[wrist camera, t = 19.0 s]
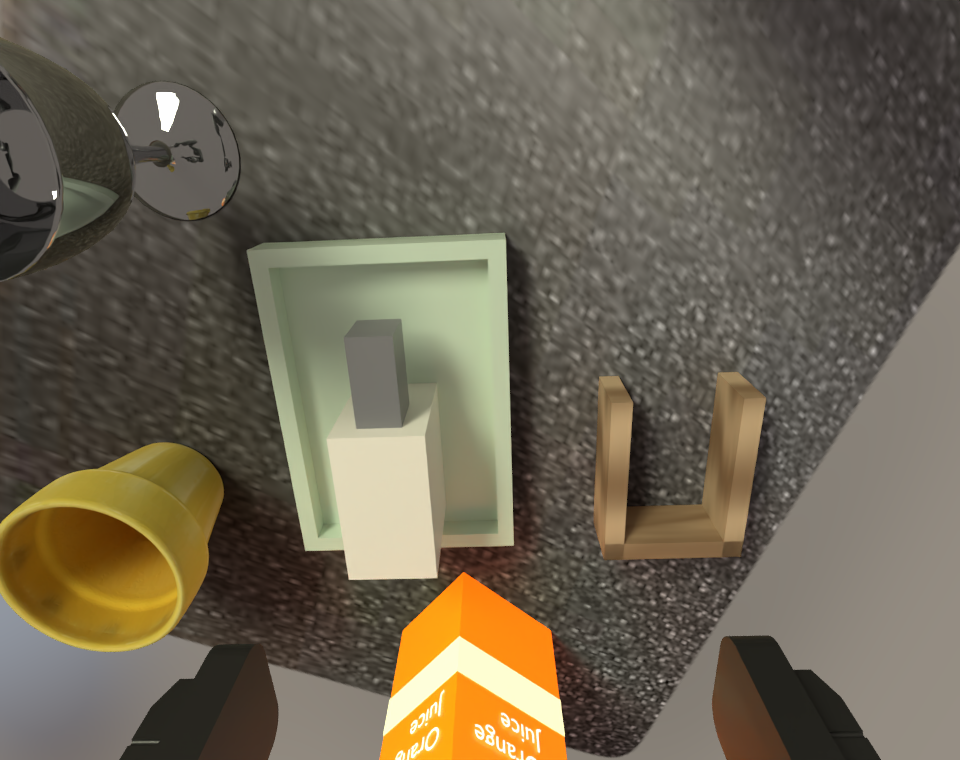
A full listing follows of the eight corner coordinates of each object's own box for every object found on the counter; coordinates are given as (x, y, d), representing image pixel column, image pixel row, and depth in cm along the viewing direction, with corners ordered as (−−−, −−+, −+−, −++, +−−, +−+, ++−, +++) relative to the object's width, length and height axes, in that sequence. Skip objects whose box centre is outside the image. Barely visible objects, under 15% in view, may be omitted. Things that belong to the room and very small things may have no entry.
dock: (599, 376, 36) (611, 403, 32) (737, 372, 36) (766, 398, 32) (593, 521, 40) (604, 559, 36) (717, 518, 40) (740, 556, 36)
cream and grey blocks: (345, 306, 33) (311, 345, 27) (430, 303, 33) (416, 341, 27) (372, 507, 39) (349, 579, 32) (445, 505, 39) (437, 577, 32)
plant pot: (284, 485, 39) (222, 586, 30) (196, 567, 42) (116, 682, 33) (157, 385, 37) (48, 463, 28) (73, 480, 40) (-51, 580, 30)
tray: (263, 243, 33) (246, 250, 31) (504, 232, 33) (505, 239, 30) (315, 527, 41) (305, 550, 38) (512, 522, 40) (513, 545, 38)
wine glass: (270, 128, 31) (90, 113, 17) (214, 254, 33) (19, 330, 20) (129, 39, 29) (-197, -59, 15) (82, 177, 32) (-232, 201, 18)
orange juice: (464, 570, 42) (443, 905, 23) (552, 629, 44) (598, 981, 25) (400, 631, 44) (336, 979, 26) (487, 685, 46) (485, 1043, 28)
